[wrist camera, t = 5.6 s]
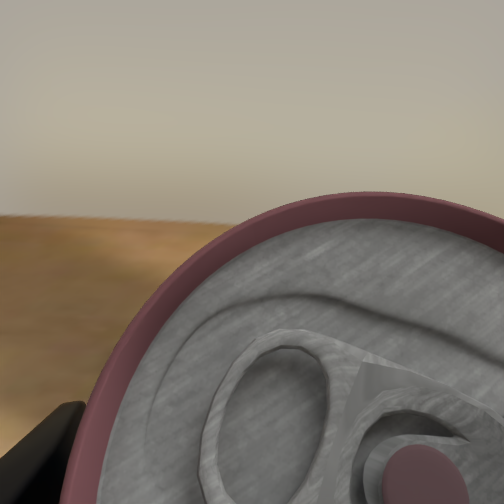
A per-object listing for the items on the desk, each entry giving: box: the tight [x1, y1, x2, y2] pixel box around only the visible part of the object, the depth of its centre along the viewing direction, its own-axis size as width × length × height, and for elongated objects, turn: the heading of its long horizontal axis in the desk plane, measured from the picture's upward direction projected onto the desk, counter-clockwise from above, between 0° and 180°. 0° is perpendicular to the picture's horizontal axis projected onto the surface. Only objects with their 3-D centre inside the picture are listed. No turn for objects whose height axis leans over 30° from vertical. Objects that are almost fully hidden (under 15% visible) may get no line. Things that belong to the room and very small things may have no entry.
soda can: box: [59, 192, 504, 504], centre depth 8 cm, size 7×7×12 cm
